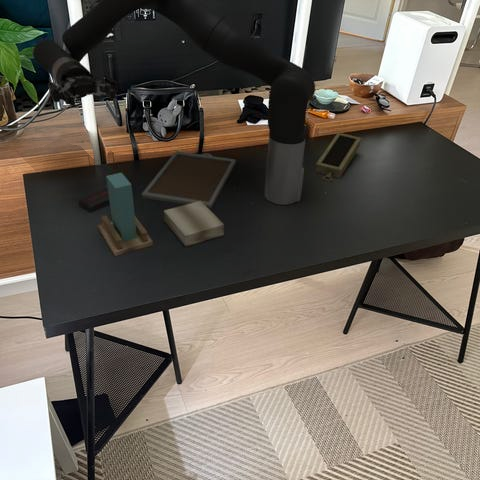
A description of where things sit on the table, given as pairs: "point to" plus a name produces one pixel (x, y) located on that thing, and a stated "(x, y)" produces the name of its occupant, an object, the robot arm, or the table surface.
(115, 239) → the rack
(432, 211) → the table surface
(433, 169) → the table surface
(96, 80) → the robot arm
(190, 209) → the block
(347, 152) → the box
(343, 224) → the table surface
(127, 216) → the tall teal prism
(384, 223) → the table surface
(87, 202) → the usb drive
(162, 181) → the grey framed brown panel
